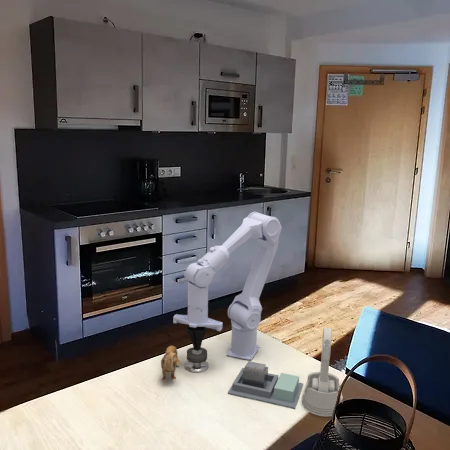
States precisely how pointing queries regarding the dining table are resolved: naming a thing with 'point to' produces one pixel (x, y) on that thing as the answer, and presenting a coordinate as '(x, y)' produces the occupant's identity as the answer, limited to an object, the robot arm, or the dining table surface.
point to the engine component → (322, 384)
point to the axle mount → (196, 366)
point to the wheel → (196, 355)
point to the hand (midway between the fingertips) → (197, 348)
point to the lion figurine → (170, 362)
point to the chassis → (270, 390)
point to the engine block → (255, 375)
